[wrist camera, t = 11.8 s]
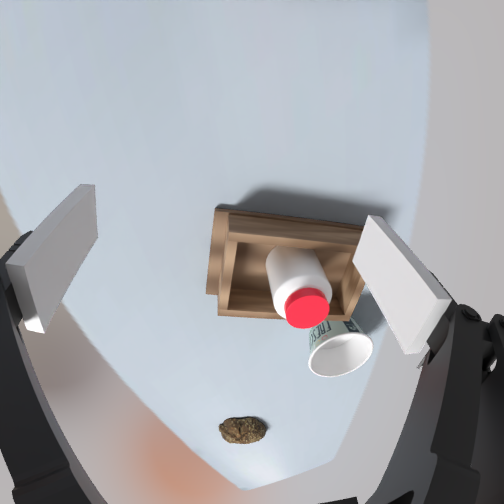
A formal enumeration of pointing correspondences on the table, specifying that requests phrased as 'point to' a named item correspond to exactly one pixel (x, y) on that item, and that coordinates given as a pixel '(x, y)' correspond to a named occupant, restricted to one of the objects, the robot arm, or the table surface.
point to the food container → (338, 348)
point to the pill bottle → (298, 286)
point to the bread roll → (242, 430)
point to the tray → (257, 250)
